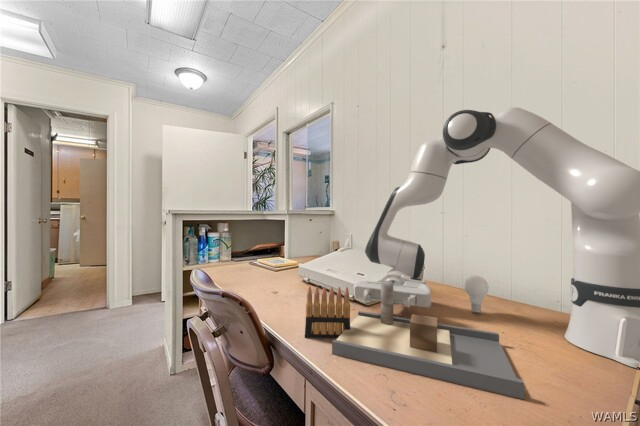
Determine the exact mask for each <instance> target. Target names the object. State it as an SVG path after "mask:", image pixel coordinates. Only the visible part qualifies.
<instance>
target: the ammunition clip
mask: <svg viewBox="0 0 640 426" xmlns="http://www.w3.org/2000/svg"><path fill="white" fill-rule="evenodd" d="M337 288H338V289H337V290H336V291H337V292H336V299H335V292H334V291H335V290H334V288H333V286H331V287H330V288H329V289H330V290H329V293H328V296H327V289H326V287H325V286H323V288H322V291H321V300H320V290H319V286H316V287H315V290H314V297H313V292H312V288H311V286H310V285H309V286H308V288H307V294H306V304H305V326H304V327H305V328H304V339H337V338H338V337H339V336H340V335H341V334H342V333H343V331H344V330H350V323H351V303H350V293H349V288H348V286H346V287H345V290H344V294H343V295H344V296H343V297H342V289H341V287H340V286H338V287H337ZM342 299H343V300H342ZM335 300H336V301H335ZM320 301H321V302H320Z"/></svg>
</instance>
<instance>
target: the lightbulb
mask: <svg viewBox="0 0 640 426" xmlns="http://www.w3.org/2000/svg"><path fill="white" fill-rule="evenodd" d="M463 287H464V288H463V289H464V290H465V293H466V294H467V296H468V297H469V302H470V310H471V312H473V313H475V314H479V313H482V304H483V301H484V298H485V297H486V295H487V294H488V292H489V288H490V286H489V284H488V281H487V280H486V279H485V278H483V277H481V276H479V275H471V276H468V277H467V278H466V279H465V280H464V282H463Z"/></svg>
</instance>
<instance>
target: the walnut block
mask: <svg viewBox="0 0 640 426" xmlns="http://www.w3.org/2000/svg"><path fill="white" fill-rule="evenodd" d="M410 319H411V320H410V347H411V348H416V349H421V350H426V351H431V352H436V353H437V323H438V317H433V316H427V315H421V314H420V315H419V314H413V313H412V314H411V318H410Z"/></svg>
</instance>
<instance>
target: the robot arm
mask: <svg viewBox="0 0 640 426" xmlns="http://www.w3.org/2000/svg"><path fill="white" fill-rule="evenodd" d="M491 149H496V150H499V151H501V152H502V153H504V154H505V155H506V156H508V157H509V158H510V159H511V160H512V161H514V162H516V163H517V164H518V165H519V166H520V167H522V168H523V169H524V170H526V172H529V174H531V175H532V176H534V177H535V178H536V179H538V181H541V182H542V183H544V184H545V185H546V186H548V187H550V188H551V189H553V191H555V192H557V193H558V194H560V195H561V196H562V197H563V198H565V199H566V200H568V201H570V203H571V204H570V205H571V206H570V207H571V211H570V212H571V228H572V229H571V232H572V247H573V249H572V250H573V251H572V254H573V258H572V260H573V262H572V263H573V264H572V265H573V270H572V271H573V272H572V273H573V275H572V276H573V277H571V279H570V287H569V291H570V292H569V295H570V296H569V297H570V301H571V303H572V304H571V311H570V317H569V323H568V325H567V328H566V331H565V333H564V335H563V336H564V338H565V339H566V341H568V342H569V343H571V344H572V345H574V346H577V347H578V348H581V350H582V349H583V350H585V351H588V352H590V353H593V354H597V355H598V356H602V357H605V358H608V359H611V360H614V361H617V362H618V363H621V364H624V365H626V366H629V367H631V368H634V369H638V368H637V367H638V365H639V364H640V170H638V169H637V168H636V169H635V168H633V167H632V166H630V165H628V164H626V163H624V162H622V161H620V160H618V159H616V158H615V157H612V156H610V155H608V154H607V153H604V152H602V151H600V150H598V149H596V148H594V147H591V146H589V145H588V144H586V143H584V142H583V141H582V142H581V141H580V140H578V139H577V138H575V137H574V136H572V135H571V134H570V133H568V132H566V131H564V130H563V129H561V128H559V127H558V126H557V125H555V124H553V123H552V122H550V121H549V120H547V119H545V118H544V117H542V116H541V115H540V116H539V115H538V114H535V113H534V112H531V111H528V110H526V109H524V108H521V107H517V106H516V107H514V106H513V107H509V108H506V109H503V111H501V112H499V113H498V114H497V115H496V116H494V114H493V113H492V112H488V111H487V112H486V111H478V110H474V109H462V110H458V111H456V112H454V113H453V114H451V115H450V116H449V117H448V118H447V119H446V121H445V122H444V125H443V128H442V138H441V139H431V140H426V141H425V142H423V143H422V144H421V145H420V146H419V148H418V150H417V152H416V154H415V156H414V159H413V162H412V164H411V167H410V171H409V174H408V177H407V178H406V180H405V181H404V183H403V184H402V185H401V186H398V187H396V188H394V190H393V191H392V193H391V194H390V196H389V197H388V200H387V202H386V204H385V205H384V208H383V210H382V212H381V214H380V216H379V219H378V222H377V223H376V225H375V227H374V230H373V232H372V233H371V235H370V237H369V238H368V240H367V242H366V245H365V248H364V249H365V250H364V253H365V255H366V257H367V259H368V260H369V261H370V262H371V263H374V264H377V265H378V264H379V265H383V266H386V267H389V268H391V269H390V270H388V272H387V273H386V274H385V275H383V277H382V278H381V279H380V281H372V280H361V281H358V282H356V283H354V285H353V290H352V291H353V297H354V298H356V299H361V300H364V302H367V303H368V302H370V303H371V302H372V301H374V302H375V301H376V302H381V281H392V282H393V306H394V305H395V306H398V305H402V307H404V308H410V307H411V306H413V307H421V308H431V306H432V291H431V289H430V286H428V285H427V281H426V280H425V279H421V278H420V276H421V273H422V272H423V268H424V264H425V260H426V259H425V258H426V255H425V251H424V249H423V247H422V245H421V244H418V243H416V242H413V241H411V240H410V241H409V240H405V239H401V238H398V237H394V236H392V235H389V234H388V232H389V230H390V227H391V226H392V224H393V221H394V219H395V217H396V215H397V213H399V211H400V210H402V209H403V208H407V207H412V206H421V205H427V204H430V203H433V202H435V201H436V200H438V199H439V198H440V197H441V196H442V193H443V192H444V189H445V186H446V184H447V179H448V176H449V173H450V169H451V167H452V166H453V165H461V164H468V163H469V164H470V163H475V162H479V161H480V160H482V159H483V158H485V157H486V156H487V155H488V154H489V152H490V151H491Z"/></svg>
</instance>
